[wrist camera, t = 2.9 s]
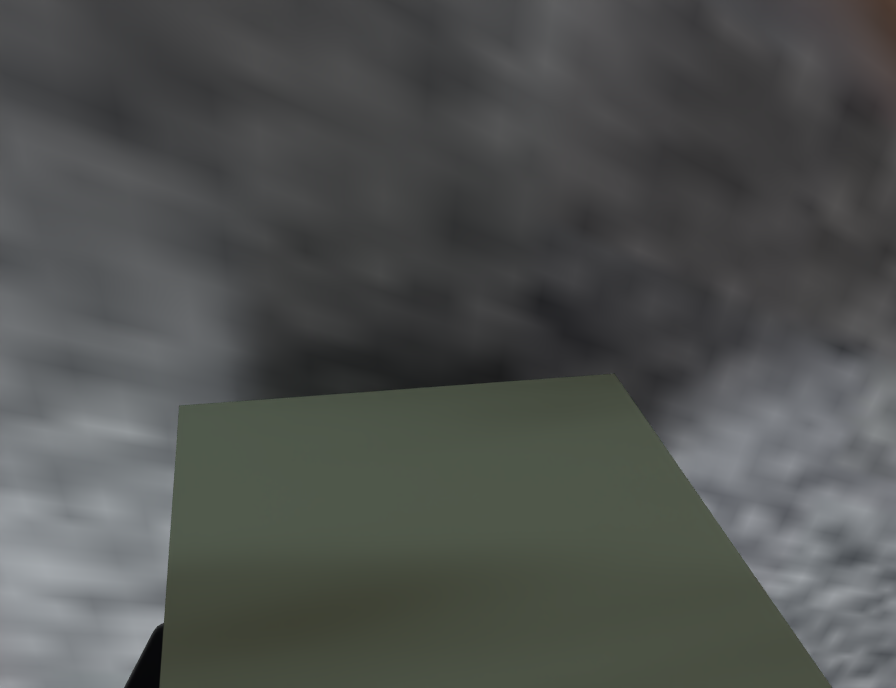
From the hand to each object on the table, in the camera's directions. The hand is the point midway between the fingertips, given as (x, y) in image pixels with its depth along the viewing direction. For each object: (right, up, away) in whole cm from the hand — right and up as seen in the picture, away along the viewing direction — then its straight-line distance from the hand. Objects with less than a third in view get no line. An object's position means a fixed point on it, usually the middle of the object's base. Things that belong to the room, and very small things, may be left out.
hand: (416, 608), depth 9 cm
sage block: (0, +1, +1) cm, 1 cm away
